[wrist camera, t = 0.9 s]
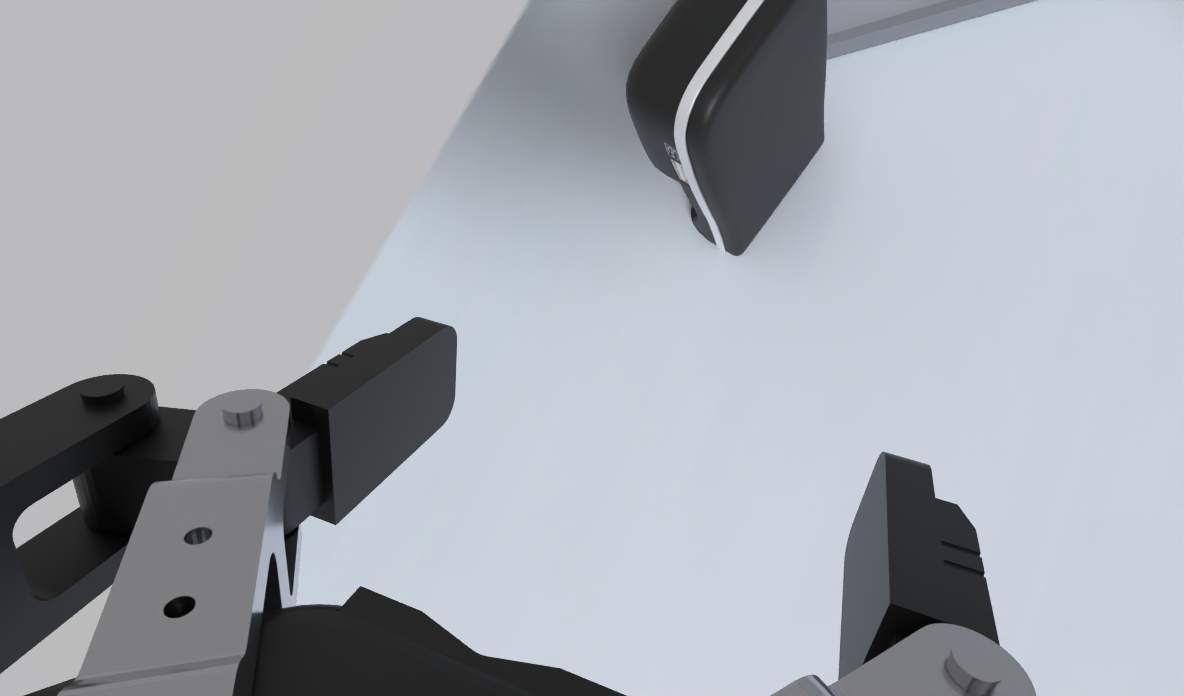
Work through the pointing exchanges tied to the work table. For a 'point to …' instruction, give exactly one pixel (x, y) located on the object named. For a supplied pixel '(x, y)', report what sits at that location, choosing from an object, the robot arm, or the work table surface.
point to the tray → (897, 19)
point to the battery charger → (732, 106)
